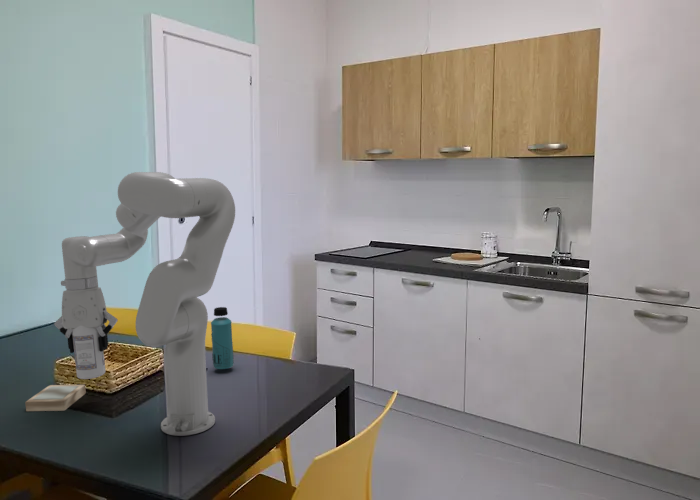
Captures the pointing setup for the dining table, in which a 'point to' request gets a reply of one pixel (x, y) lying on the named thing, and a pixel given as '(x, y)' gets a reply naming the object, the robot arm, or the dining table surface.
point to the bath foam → (87, 353)
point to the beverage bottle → (222, 340)
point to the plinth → (55, 398)
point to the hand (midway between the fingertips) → (88, 350)
